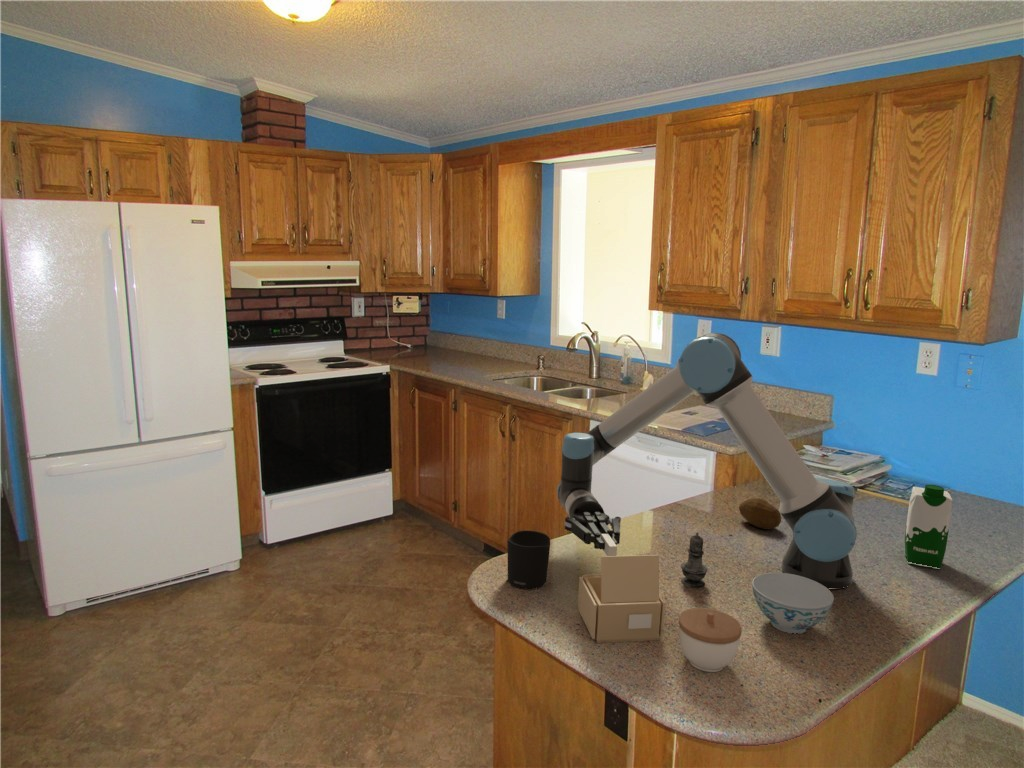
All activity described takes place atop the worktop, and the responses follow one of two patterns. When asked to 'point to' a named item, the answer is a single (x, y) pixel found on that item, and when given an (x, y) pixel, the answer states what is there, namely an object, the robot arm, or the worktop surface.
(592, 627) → the carton
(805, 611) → the chinaware
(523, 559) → the pen holder
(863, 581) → the worktop surface
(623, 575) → the flap
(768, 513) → the potato
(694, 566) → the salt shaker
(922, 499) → the milk carton
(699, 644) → the lidded jar
